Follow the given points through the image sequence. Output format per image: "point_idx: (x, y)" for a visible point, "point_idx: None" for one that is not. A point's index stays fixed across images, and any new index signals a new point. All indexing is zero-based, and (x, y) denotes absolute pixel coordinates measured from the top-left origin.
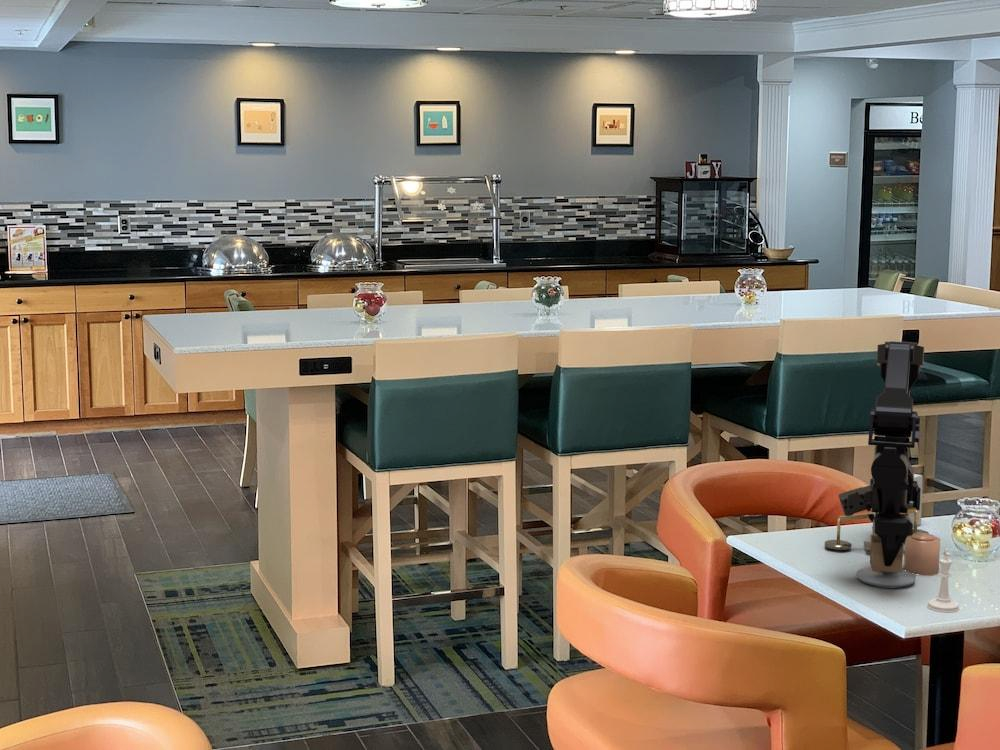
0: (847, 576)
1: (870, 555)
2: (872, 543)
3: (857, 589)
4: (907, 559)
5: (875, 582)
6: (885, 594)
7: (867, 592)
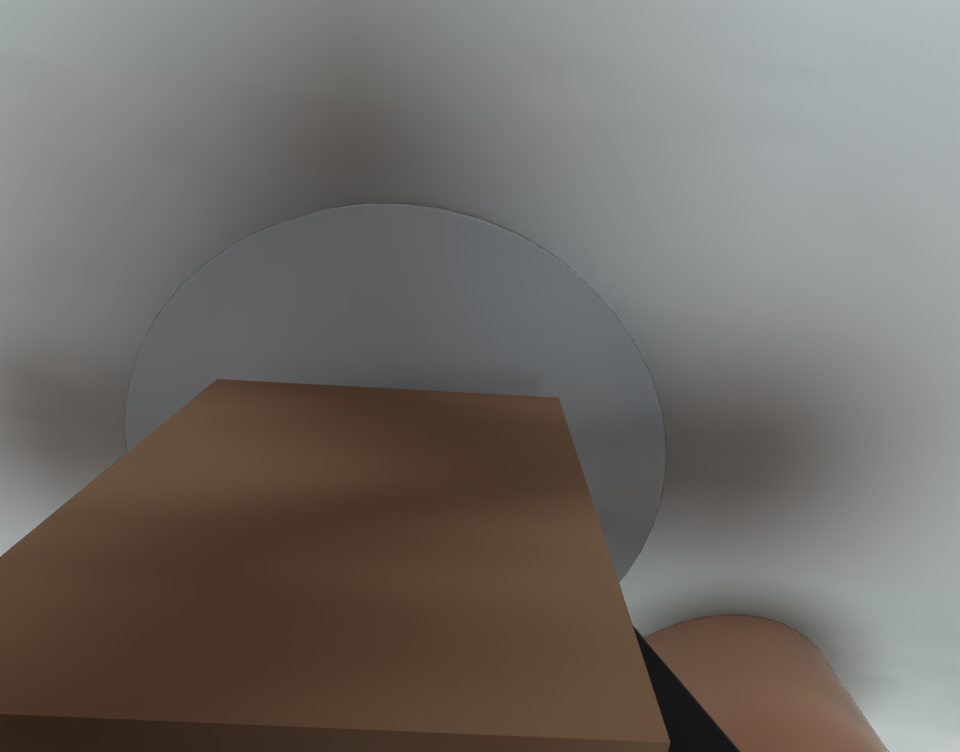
0: (498, 119)
1: (515, 445)
2: (174, 634)
3: (61, 169)
4: (718, 715)
5: (139, 363)
6: (21, 402)
7: (5, 257)
